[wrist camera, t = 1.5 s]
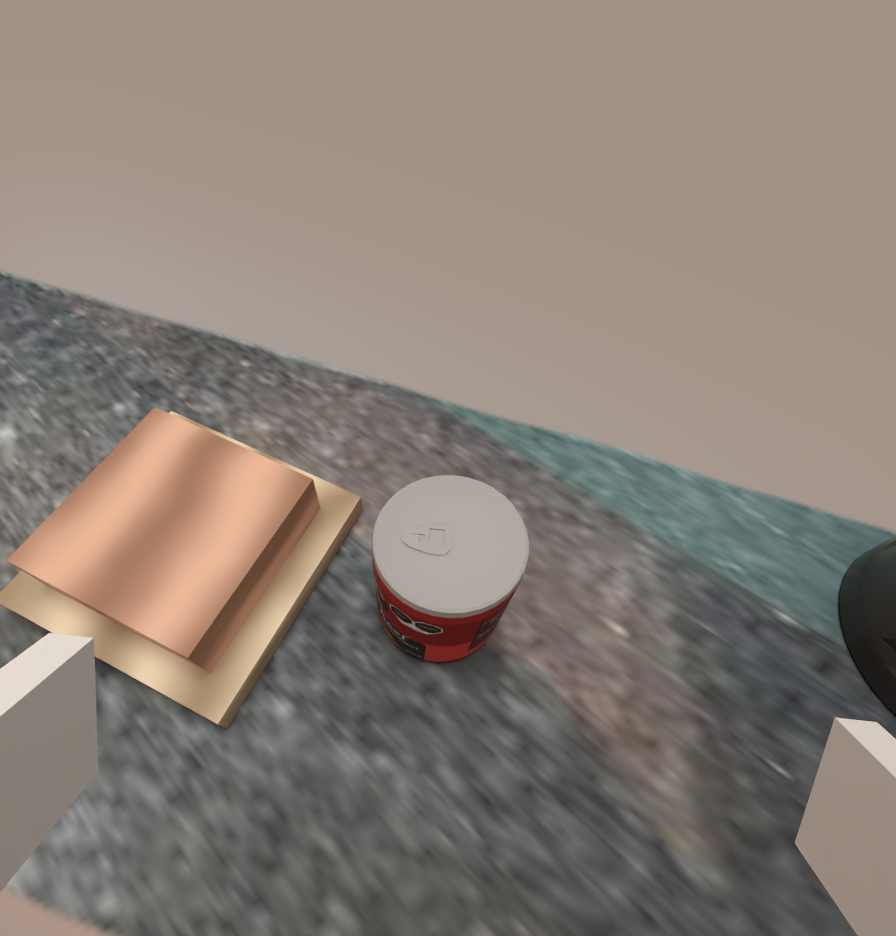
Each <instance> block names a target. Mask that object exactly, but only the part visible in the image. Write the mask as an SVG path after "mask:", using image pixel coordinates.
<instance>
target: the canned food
mask: <svg viewBox="0 0 896 936" xmlns="http://www.w3.org/2000/svg"><path fill="white" fill-rule="evenodd" d="M528 551H529V541H528V535H527V530H526V527H525V525H524V522H523V520H522V517H521V516H520V514H519V513H518V511H517V510H516V508H515V507H514V505H513V504H512V503H511V502H510V501H509V500H508V499H507V498H506V497H505V496H504V495H502V494H501V493H500V492H498V491H497V490H496V489H494V488H493V487H491V486H489V485H487V484H485V483H483V482H480V481H477V480H474V479H471V478H468V477H461V476H454V475H445V476H434V477H429V478H424V479H421V480H419V481H416V482H413V483H411V484H409V485H408V486H406V487H404V488H403V489H401V490H399V491H398V492H397V493H396V494H395V495H394V496H393V497H391V498H390V499H389V501H388V502H387V503H386V505H385V506H384V507H383V508H382V510H381V512H380V514H379V516H378V518H377V521H376V524H375V528H374V533H373V538H372V556H373V569H374V577H375V586H376V594H377V602H378V610H379V615H380V619H381V622H382V625H383V627H384V629H385V631H386V633H387V634H388V635H389V637H390V638H391V640H392V641H393V642H394V643H395V644H396V645H397V646H399V647H400V648H401V649H402V650H403V651H405V652H407V653H409V654H410V655H412V656H414V657H417V658H420V659H423V660H427V661H434V662H444V661H452V660H456V659H460V658H463V657H465V656H467V655H469V654H471V653H473V652H474V651H476V650H477V649H478V648H480V647H481V646H482V645H483V644H484V643H485V642H486V640H487V639H488V638H489V637H490V635H491V633H492V632H493V630H494V628H495V626H496V625H497V623H498V621H499V619H500V617H501V616H502V614H503V612H504V610H505V608H506V607H507V605H508V603H509V601H510V599H511V598H512V596H513V594H514V592H515V590H516V589H517V587H518V585H519V583H520V580H521V579H522V577H523V575H524V571H525V568H526V564H527V560H528Z"/></svg>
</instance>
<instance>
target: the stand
mask: <svg viewBox="0 0 896 936" xmlns="http://www.w3.org/2000/svg"><path fill="white" fill-rule="evenodd" d="M361 512H362V502H361V497H360V496H357V495H355V494H353V493H351V492H349V491H346V490H344V489H342V488H340V487H338V486H335V485H333V484H331V483H329V482H327V481H324V480H322V479H320V478H318V477H316V476H313V475H311V474H309V473H307V472H305V471H302V470H300V469H298V468H296V467H294V466H291V465H289V464H287V463H285V462H283V461H280V460H278V459H276V458H274V457H272V456H269V455H267V454H265V453H263V452H260V451H258V450H256V449H254V448H252V447H249V446H247V445H245V444H243V443H241V442H238V441H236V440H234V439H232V438H230V437H227V436H225V435H223V434H221V433H219V432H216V431H214V430H212V429H210V428H208V427H205V426H203V425H201V424H199V423H197V422H194V421H192V420H190V419H188V418H186V417H183V416H181V415H179V414H177V413H175V412H172V411H171V412H170V413H167V412H165V411H163V410H160V409H158V408H156V407H155V408H154V409H153V410H152V411H151V412H150V413H149V414H148V415H147V416H146V417H145V418H144V419H143V420H142V421H141V422H140V423H139V424H138V425H137V426H136V427H135V428H134V429H133V430H132V431H131V432H130V433H129V434H128V435H127V436H126V438H125V439H124V440H123V441H122V442H121V443H120V444H119V445H118V446H117V447H116V448H115V449H114V450H113V451H112V452H111V453H110V454H109V455H108V456H107V457H106V458H105V459H104V460H103V461H102V462H101V463H100V464H99V465H98V466H97V467H96V468H95V470H94V471H93V472H92V473H91V474H90V475H89V476H88V477H87V478H86V479H85V480H84V481H83V482H82V483H81V484H80V485H79V486H78V487H77V488H76V489H75V490H74V491H73V492H72V493H71V494H70V495H69V496H68V497H67V498H66V499H65V500H64V502H63V503H62V504H61V505H60V506H59V507H58V508H57V509H56V510H55V511H54V512H53V513H52V514H51V515H50V516H49V517H48V518H47V519H46V520H45V521H44V522H43V523H42V524H41V525H40V526H39V527H38V528H37V529H36V530H35V531H34V532H33V534H32V535H31V536H30V537H29V538H28V539H27V540H26V541H25V542H24V543H23V544H22V545H21V546H20V547H19V548H18V549H17V550H16V551H15V552H14V553H13V554H12V555H11V556H10V557H9V558H8V559H7V560H6V561H8V562H9V563H11V564H12V565H14V566H16V567H17V568H19V569H20V570H21V571H20V572H19V573H18V574H17V575H16V577H15V578H14V579H13V580H12V581H11V582H10V583H9V584H8V585H7V586H6V587H5V588H4V589H3V590H2V591H1V592H0V604H2V605H3V606H5V607H7V608H9V609H11V610H12V611H14V612H16V613H18V614H20V615H21V616H23V617H25V618H27V619H29V620H30V621H32V622H34V623H36V624H38V625H39V626H41V627H43V628H45V629H47V630H48V631H50V632H52V633H54V634H63V635H72V636H82V637H91V638H94V656H95V657H97V658H99V659H101V660H103V661H104V662H106V663H108V664H110V665H112V666H113V667H115V668H117V669H119V670H121V671H122V672H124V673H126V674H128V675H130V676H131V677H133V678H135V679H137V680H139V681H140V682H142V683H144V684H146V685H148V686H149V687H151V688H153V689H155V690H157V691H158V692H160V693H162V694H164V695H166V696H167V697H169V698H171V699H173V700H175V701H176V702H178V703H180V704H182V705H184V706H185V707H187V708H189V709H191V710H193V711H194V712H196V713H198V714H200V715H202V716H203V717H205V718H207V719H209V720H211V721H213V722H214V723H216V724H218V725H220V726H222V727H225V728H228V727H229V725H230V723H231V722H232V720H233V719H234V717H235V715H236V714H237V712H238V710H239V709H240V707H241V706H242V704H243V702H244V701H245V699H246V698H247V696H248V694H249V693H250V691H251V689H252V688H253V686H254V685H255V683H256V681H257V680H258V678H259V677H260V675H261V673H262V672H263V670H264V668H265V667H266V665H267V664H268V662H269V660H270V659H271V657H272V656H273V654H274V652H275V651H276V649H277V647H278V646H279V644H280V643H281V641H282V639H283V638H284V636H285V635H286V633H287V631H288V630H289V628H290V626H291V625H292V623H293V622H294V620H295V618H296V617H297V615H298V614H299V612H300V610H301V609H302V607H303V605H304V604H305V602H306V601H307V599H308V597H309V596H310V594H311V593H312V591H313V589H314V588H315V586H316V584H317V583H318V581H319V580H320V578H321V576H322V575H323V573H324V572H325V570H326V568H327V567H328V565H329V563H330V562H331V560H332V559H333V557H334V555H335V554H336V552H337V551H338V549H339V547H340V546H341V544H342V542H343V541H344V539H345V538H346V536H347V534H348V533H349V531H350V530H351V528H352V526H353V525H354V523H355V521H356V520H357V518H358V517H359V515H360V513H361Z"/></svg>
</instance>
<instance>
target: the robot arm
mask: <svg viewBox="0 0 896 936" xmlns="http://www.w3.org/2000/svg"><path fill="white" fill-rule="evenodd" d="M840 617H841V623H842V628H843V631H844V635H845V638H846V641H847V644H848V646H849V649H850V651H851V654H852V656H853V658H854V660H855V662H856V664H857V665H858V667H859V669H860V671H861V672H862V674H863V675H864V677H865V679H866V680H867V682H868V683H869V684H870V686H871V687H872V689H873V690H874V691H875V692H876V694H877V695H878V696H879V697H880V699H881V700H882V701H883V702H884V703H885V704H886V705H887V707H888V708H889V709H890V710H891V711H892V712H893V713H894V714H895V715H896V538H893V539H890V540H888V541H886V542H884V543H882V544H881V545H879V546H877V547H875V548H873V549H871V550H869V551H868V552H866V553H864V554H863V555H861V556H860V557H859V558H858V559H856V561H855V562H854V563H853V564H852V565H851V566H850V568H849V569H848V571H847V573H846V575H845V577H844V580H843V583H842V586H841V591H840ZM97 773H98V748H97V718H96V688H95V658H94V638H91V637H82V636H72V635H63V634H54V633H49V634H47V635H46V636H44V637H43V638H42V639H40V640H39V641H38V642H36V643H35V644H34V645H32V646H31V647H30V648H28V649H27V650H25V651H24V652H23V653H21V654H20V655H19V656H17V657H16V658H15V659H13V660H12V661H10V662H9V663H8V664H6V665H5V666H4V667H2V668H1V669H0V892H1V891H2V889H3V888H4V887H5V886H6V884H7V883H8V882H9V881H10V880H11V878H12V877H13V876H14V875H15V873H16V872H17V871H18V870H19V868H20V867H21V866H22V865H23V864H24V862H25V861H26V860H27V859H28V857H29V856H30V855H31V854H32V852H33V851H34V850H35V849H36V848H37V846H38V845H39V844H40V843H41V841H42V840H43V839H44V838H45V837H46V835H47V834H48V833H49V832H50V830H51V829H52V828H53V827H54V825H55V824H56V823H57V822H58V821H59V819H60V818H61V817H62V816H63V814H64V813H65V812H66V811H67V809H68V808H69V807H70V806H71V805H72V803H73V802H74V801H75V800H76V798H77V797H78V796H79V795H80V793H81V792H82V791H83V790H84V789H85V787H86V786H87V785H88V784H89V782H90V781H91V780H92V779H93V777H94V776H95V775H96V774H97ZM795 844H796V846H797V847H798V849H799V850H800V852H801V853H802V855H803V856H804V857H805V859H806V860H807V862H808V863H809V865H810V866H811V868H812V869H813V871H814V872H815V874H816V875H817V877H818V878H819V880H820V881H821V883H822V884H823V885H824V887H825V888H826V890H827V891H828V893H829V894H830V896H831V897H832V899H833V900H834V902H835V903H836V905H837V906H838V908H839V909H840V910H841V912H842V913H843V915H844V916H845V918H846V919H847V921H848V922H849V924H850V925H851V927H852V928H853V930H854V931H855V933H856V934H857V935H858V936H896V739H895V738H894V737H893V736H892V735H891V734H889V733H888V732H887V731H886V730H885V729H884V728H883V727H882V726H881V725H880V724H878V723H877V722H871V721H862V720H852V719H843V718H835V719H834V722H833V725H832V728H831V731H830V735H829V738H828V741H827V744H826V747H825V750H824V753H823V756H822V760H821V763H820V766H819V769H818V772H817V775H816V778H815V781H814V784H813V788H812V791H811V794H810V797H809V800H808V803H807V806H806V809H805V812H804V816H803V819H802V822H801V825H800V828H799V831H798V834H797V837H796V841H795Z"/></svg>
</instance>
